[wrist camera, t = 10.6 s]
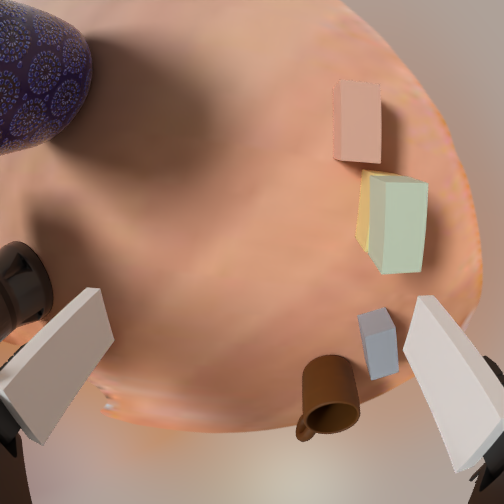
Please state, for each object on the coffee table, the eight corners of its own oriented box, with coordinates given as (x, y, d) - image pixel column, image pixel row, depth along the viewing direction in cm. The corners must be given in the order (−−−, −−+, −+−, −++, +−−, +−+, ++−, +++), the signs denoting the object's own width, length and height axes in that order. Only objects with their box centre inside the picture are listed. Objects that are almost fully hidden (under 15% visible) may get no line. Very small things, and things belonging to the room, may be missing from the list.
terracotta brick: (367, 160, 30) (380, 163, 26) (332, 158, 31) (341, 160, 26) (367, 91, 27) (380, 84, 23) (332, 88, 28) (340, 79, 23)
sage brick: (402, 252, 28) (420, 271, 24) (368, 253, 29) (381, 274, 24) (406, 176, 26) (428, 183, 21) (369, 175, 26) (385, 182, 21)
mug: (317, 408, 44) (319, 452, 35) (278, 394, 44) (274, 441, 35) (361, 362, 40) (373, 409, 31) (320, 345, 39) (325, 394, 31)
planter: (64, 171, 34) (-54, 208, 15) (10, 110, 32) (-88, 122, 12) (136, 58, 28) (13, 13, 9) (66, 13, 26) (-32, -17, 6)
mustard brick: (385, 239, 33) (399, 254, 28) (354, 237, 33) (365, 252, 29) (394, 173, 30) (410, 178, 26) (361, 169, 31) (374, 173, 26)
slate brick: (389, 350, 39) (398, 372, 34) (364, 357, 40) (371, 380, 35) (384, 306, 36) (395, 327, 32) (357, 315, 37) (364, 337, 32)
